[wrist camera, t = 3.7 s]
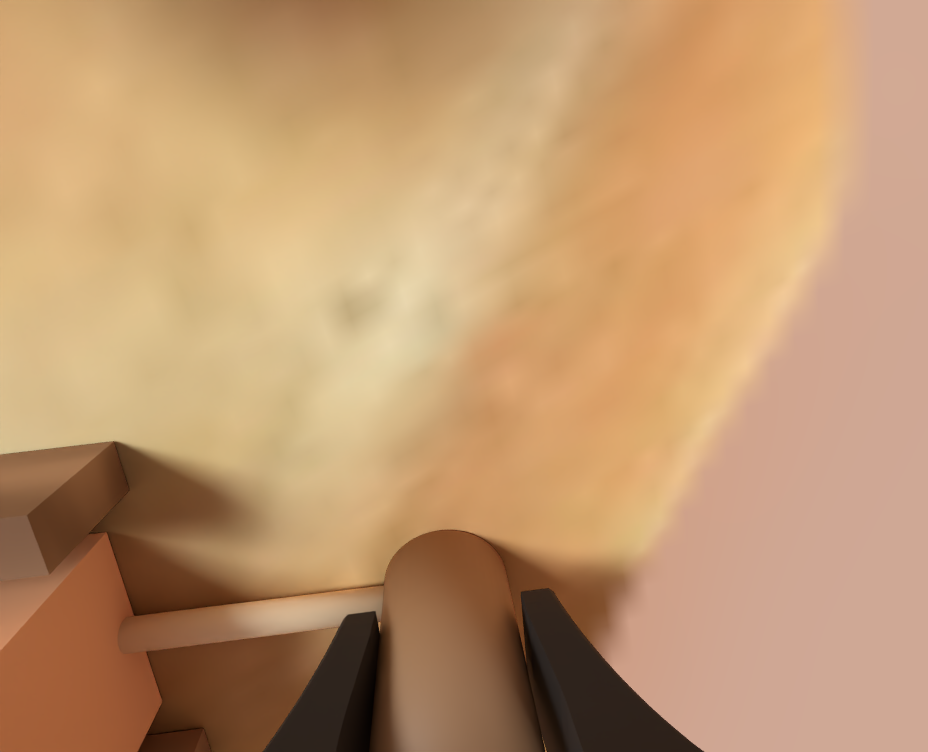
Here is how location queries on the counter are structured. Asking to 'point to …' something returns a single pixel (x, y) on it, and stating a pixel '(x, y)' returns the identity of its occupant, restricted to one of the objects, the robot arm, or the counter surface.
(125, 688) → the tethered block
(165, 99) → the counter surface
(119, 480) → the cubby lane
